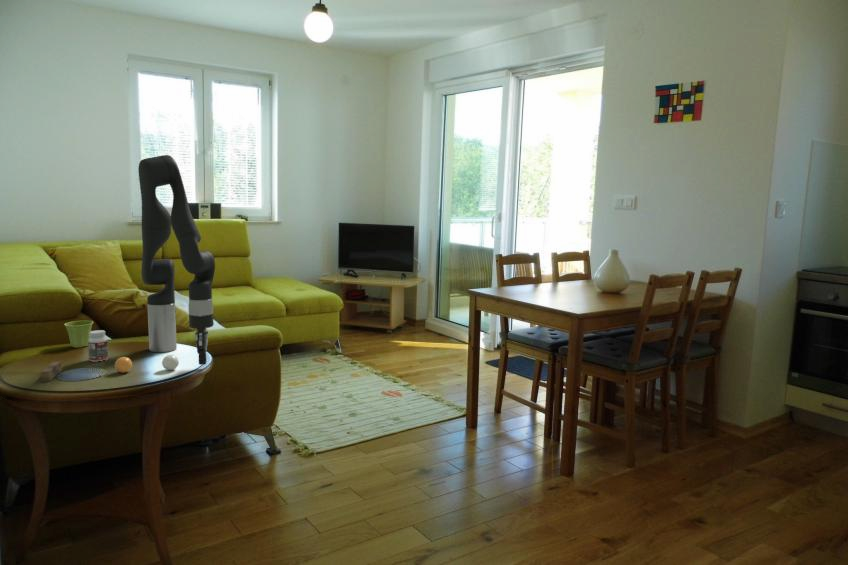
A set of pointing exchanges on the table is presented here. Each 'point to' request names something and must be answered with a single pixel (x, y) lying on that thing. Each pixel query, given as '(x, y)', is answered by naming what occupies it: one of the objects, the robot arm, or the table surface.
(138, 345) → the table surface
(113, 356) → the table surface
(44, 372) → the stopper wall
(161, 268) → the robot arm
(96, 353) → the pill bottle
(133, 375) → the table surface
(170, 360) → the cue ball
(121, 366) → the object ball
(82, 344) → the plant pot
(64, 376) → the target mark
